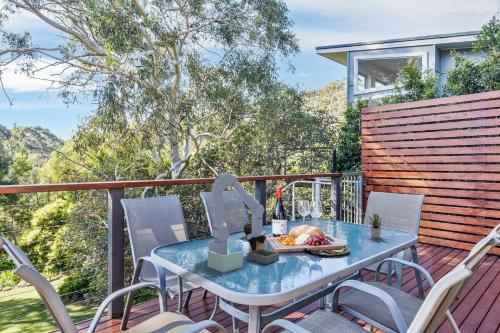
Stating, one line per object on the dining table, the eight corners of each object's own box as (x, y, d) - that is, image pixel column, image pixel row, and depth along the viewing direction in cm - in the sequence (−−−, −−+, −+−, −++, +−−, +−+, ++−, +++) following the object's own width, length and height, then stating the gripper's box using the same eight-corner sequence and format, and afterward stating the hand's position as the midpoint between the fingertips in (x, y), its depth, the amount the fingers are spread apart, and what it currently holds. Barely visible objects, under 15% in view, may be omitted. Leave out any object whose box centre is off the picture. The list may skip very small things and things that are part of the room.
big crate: (266, 264, 172) (266, 257, 172) (247, 259, 180) (247, 252, 180) (279, 259, 180) (279, 252, 180) (260, 255, 188) (260, 248, 188)
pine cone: (254, 242, 216) (254, 226, 216) (240, 236, 232) (240, 221, 231) (269, 240, 222) (269, 224, 221) (254, 234, 237) (254, 219, 237)
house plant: (360, 234, 239) (360, 210, 238) (381, 234, 238) (381, 210, 238) (366, 239, 225) (366, 213, 224) (388, 239, 224) (388, 213, 224)
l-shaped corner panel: (242, 266, 169) (242, 251, 168) (223, 272, 160) (223, 256, 160) (227, 261, 177) (226, 246, 177) (207, 266, 169) (207, 250, 169)
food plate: (295, 249, 198) (295, 243, 198) (321, 243, 213) (321, 237, 213) (331, 261, 179) (332, 254, 179) (357, 253, 194) (358, 247, 194)
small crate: (259, 254, 189) (259, 245, 189) (249, 252, 194) (249, 243, 193) (264, 252, 193) (264, 243, 193) (255, 250, 197) (255, 241, 197)
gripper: (254, 228, 185) (253, 254, 185) (271, 224, 195) (270, 248, 196) (244, 226, 189) (244, 251, 190) (261, 222, 200) (261, 246, 201)
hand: (257, 249), depth 193 cm, fingers closed on small crate, 5 cm apart
